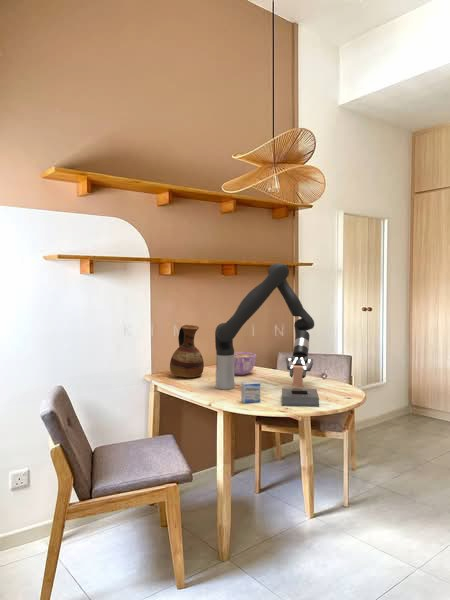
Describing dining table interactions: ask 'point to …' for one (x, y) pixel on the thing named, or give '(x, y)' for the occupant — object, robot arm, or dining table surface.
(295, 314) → the robot arm
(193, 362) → the ceramic pitcher
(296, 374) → the square peg
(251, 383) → the medicine box
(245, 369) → the bowl of food
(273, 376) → the dining table surface
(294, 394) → the square hole block
